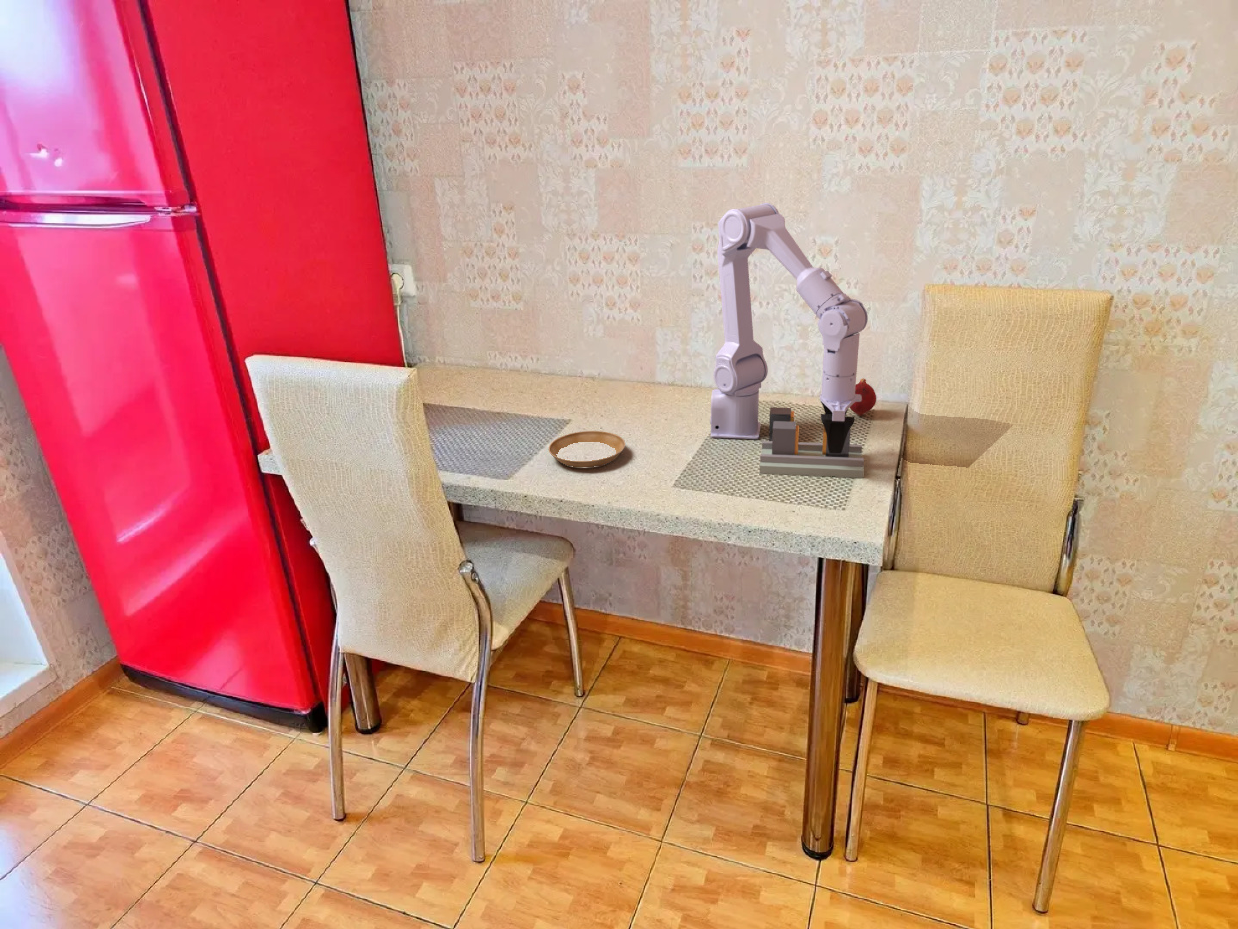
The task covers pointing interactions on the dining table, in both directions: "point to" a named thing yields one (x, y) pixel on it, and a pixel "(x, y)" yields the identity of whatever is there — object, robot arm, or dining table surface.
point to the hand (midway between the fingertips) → (834, 443)
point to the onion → (864, 398)
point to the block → (779, 417)
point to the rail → (805, 456)
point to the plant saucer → (587, 436)
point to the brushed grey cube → (843, 454)
